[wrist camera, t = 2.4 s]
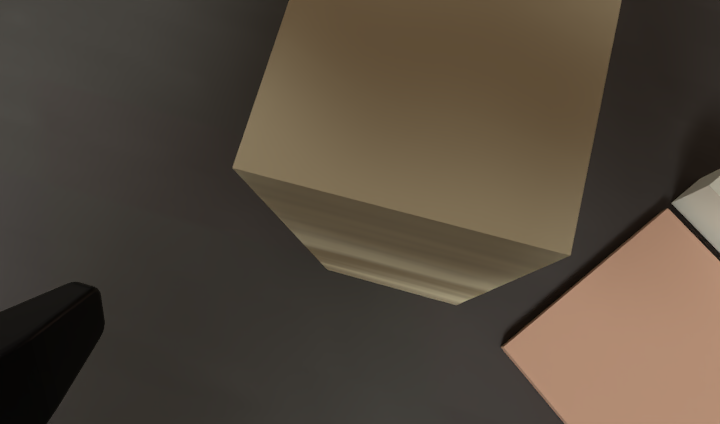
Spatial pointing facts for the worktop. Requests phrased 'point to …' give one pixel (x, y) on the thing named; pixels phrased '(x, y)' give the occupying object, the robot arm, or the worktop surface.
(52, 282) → the worktop surface
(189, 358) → the worktop surface
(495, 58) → the birch block
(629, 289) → the corner arena
